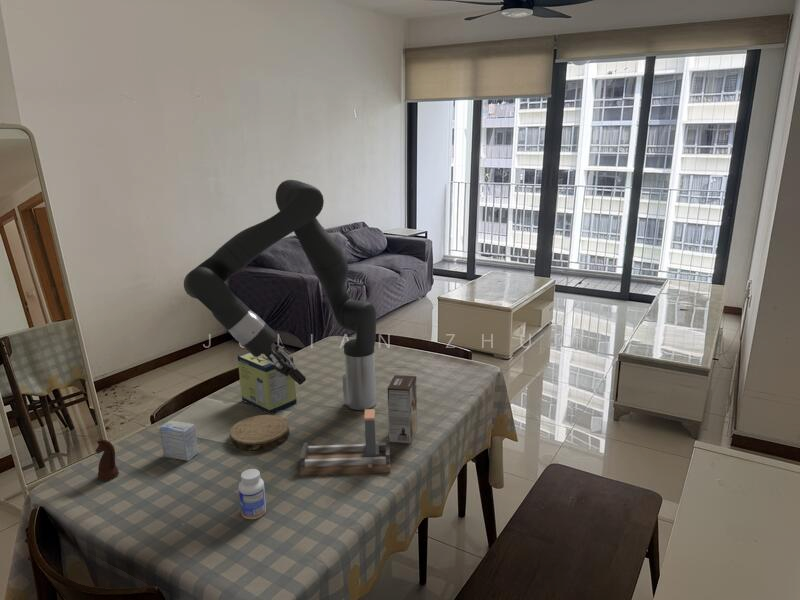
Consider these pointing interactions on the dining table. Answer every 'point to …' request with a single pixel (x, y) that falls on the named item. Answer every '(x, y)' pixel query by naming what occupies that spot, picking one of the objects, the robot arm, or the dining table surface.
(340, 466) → the board
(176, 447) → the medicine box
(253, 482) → the pill bottle
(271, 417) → the brown round disc
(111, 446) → the chess piece
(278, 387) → the protein box
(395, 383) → the coffee box
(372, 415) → the fader tab
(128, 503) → the dining table surface
